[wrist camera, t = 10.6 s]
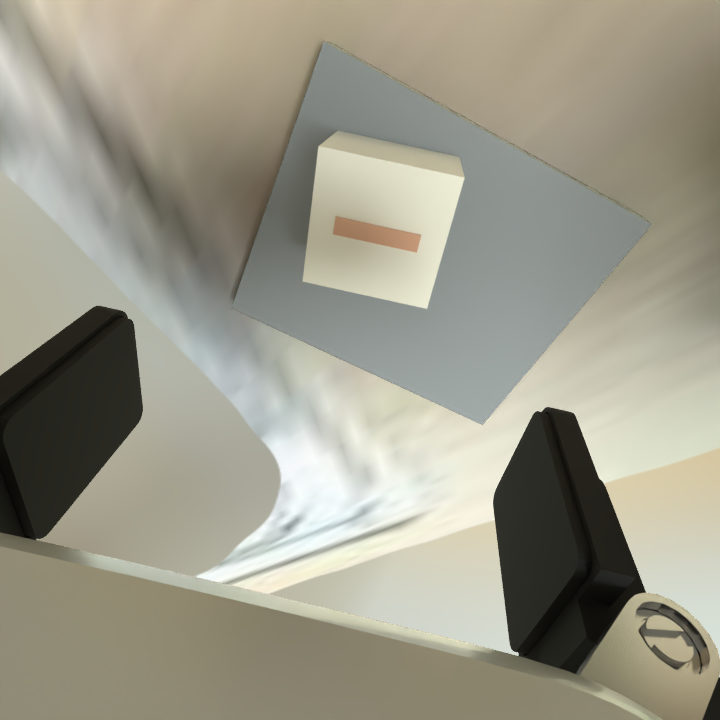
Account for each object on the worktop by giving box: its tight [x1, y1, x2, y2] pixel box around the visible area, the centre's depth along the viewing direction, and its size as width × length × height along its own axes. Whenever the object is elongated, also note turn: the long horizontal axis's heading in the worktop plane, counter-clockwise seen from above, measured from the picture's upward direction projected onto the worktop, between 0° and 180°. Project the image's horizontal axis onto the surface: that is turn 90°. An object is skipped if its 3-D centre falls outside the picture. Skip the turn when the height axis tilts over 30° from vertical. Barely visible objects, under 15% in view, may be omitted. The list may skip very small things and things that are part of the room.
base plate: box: [232, 41, 652, 425], centre depth 29 cm, size 19×16×2 cm
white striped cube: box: [302, 131, 465, 309], centre depth 24 cm, size 6×6×5 cm
